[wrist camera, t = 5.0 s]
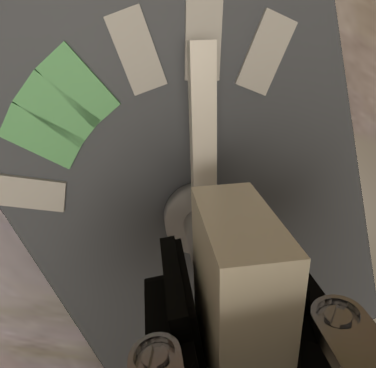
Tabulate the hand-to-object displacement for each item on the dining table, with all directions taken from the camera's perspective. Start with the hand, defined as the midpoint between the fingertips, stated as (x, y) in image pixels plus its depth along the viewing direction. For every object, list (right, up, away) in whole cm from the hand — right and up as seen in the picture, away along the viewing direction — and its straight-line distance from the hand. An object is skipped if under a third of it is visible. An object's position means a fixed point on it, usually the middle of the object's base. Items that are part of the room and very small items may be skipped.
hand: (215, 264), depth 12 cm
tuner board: (-1, +2, +5) cm, 5 cm away
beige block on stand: (-1, +3, +3) cm, 5 cm away
